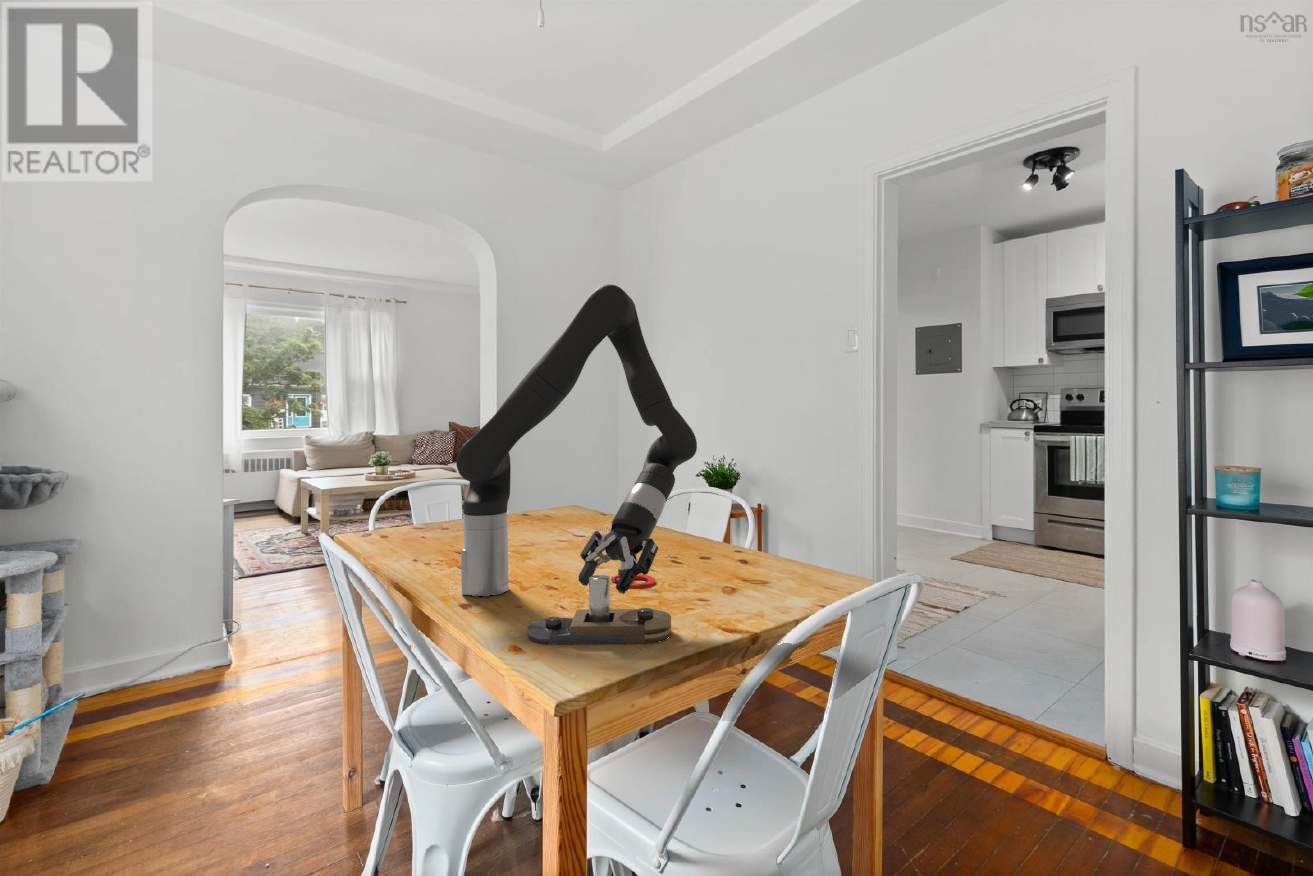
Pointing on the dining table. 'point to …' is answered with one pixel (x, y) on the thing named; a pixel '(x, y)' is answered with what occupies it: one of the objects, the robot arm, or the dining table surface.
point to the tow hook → (634, 585)
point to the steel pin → (599, 598)
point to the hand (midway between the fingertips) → (600, 587)
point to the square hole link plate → (603, 628)
